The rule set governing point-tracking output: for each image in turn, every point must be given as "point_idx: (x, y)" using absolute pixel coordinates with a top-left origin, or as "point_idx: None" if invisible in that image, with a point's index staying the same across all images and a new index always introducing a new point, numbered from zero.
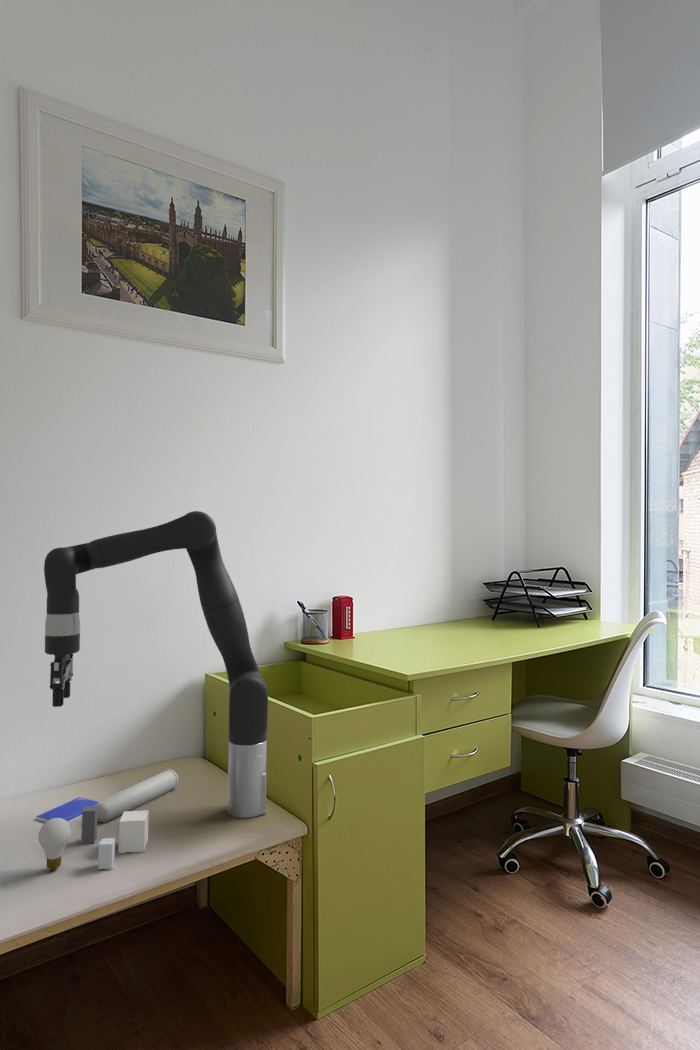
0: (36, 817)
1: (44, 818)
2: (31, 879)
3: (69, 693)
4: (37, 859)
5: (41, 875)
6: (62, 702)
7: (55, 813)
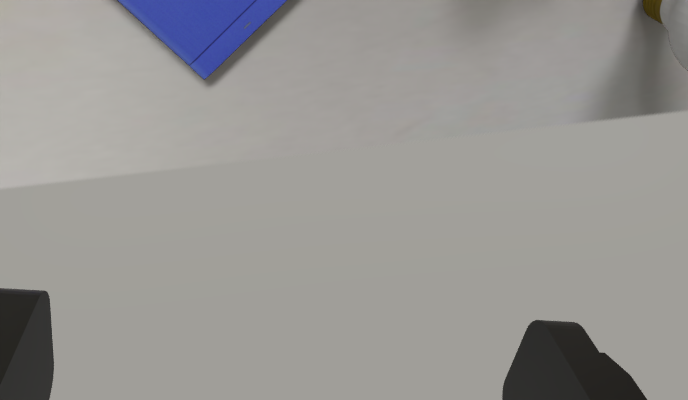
0: (205, 77)
1: (236, 48)
2: None
3: (24, 326)
4: (553, 47)
5: None
6: (591, 350)
7: (204, 7)
